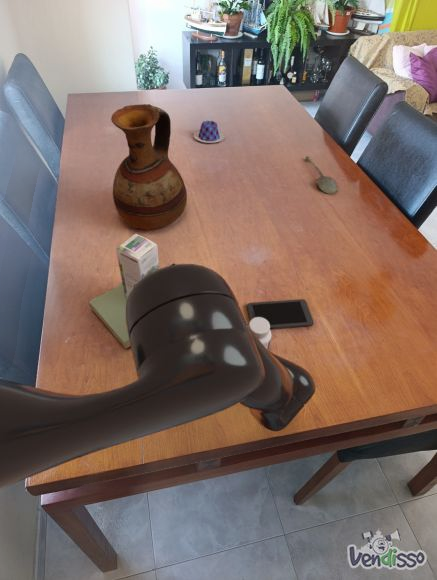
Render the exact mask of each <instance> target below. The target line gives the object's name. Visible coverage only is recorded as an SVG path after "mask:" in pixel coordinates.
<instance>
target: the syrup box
mask: <svg viewBox="0 0 437 580" xmlns="http://www.w3.org/2000/svg"><path fill="white" fill-rule="evenodd" d="M115 251H116V257H117V263H118V268H119V273H120V278H121V282H122V283H121V284H123V288H124V294H125V297H126V298H127V299H128V296H129V294H130V292H131V291H132V289H133V288H134V285H135V284H137V283H138V282H139V281H140V280H141V279H142V278H144V277H145V276H147V275H148V274H150V273H152V272H154V271H157V270H159V267H160V262H159V261H160V259H159V249H158V244H157V243H155V242H154V241H152V240H151V239H148V238H146V237H145V236H143V235H142V236H141V235H139V234H137V233H134V234H133V235H132V236H130V237H129V238H128V239H126V240H125V241H124V242H122V243H121V244H120V245H119V246H118V247H116V248H115Z"/></svg>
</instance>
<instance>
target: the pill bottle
mask: <svg viewBox="0 0 437 580" xmlns="http://www.w3.org/2000/svg"><path fill="white" fill-rule="evenodd" d="M248 327H249V328H250V329H251V331H252V332H253V333H254V335H255V336H256V337H257V338H258V339H259V341H260V342H261V343H262V344H263V345H264V347H265V348H266V349H267V350H268V351H270V350H269V349H270V345H271V342H272V331H271V329H270V324H269V322H268V321H267V320H266V319H264V318H262V317H255V318H253V319H252V320H251V321H250V320H249V323H248Z"/></svg>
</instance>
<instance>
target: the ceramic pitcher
mask: <svg viewBox="0 0 437 580" xmlns="http://www.w3.org/2000/svg"><path fill="white" fill-rule="evenodd" d="M110 120H111V122H112V124H113V125H114V126H115V127H117V128H118V129H120V131H122V132H123V133H124V135H125V139H126V142H127V147H128V155H127V156H126V157H125V158H124V159H123V160H122V161H121V163H120V164H119V166H118V167H117V170H116V172H115V175H114V178H113V183H112V198H113V199H112V200H113V203H114V206H115V209H116V211H117V213H118V215H119V216H120V218H121V219H122V220H123V221H124V222H125V223H126V224H128V225H129V226H131V227H132V228H136V229H140V230H155V229H160V228H164V227H167V226H169V225H171V224H173V223H174V222H175V221H176V220H177V219H179V218H180V217H181V216H182V214H183V213H184V211H185V209H186V207H187V202H188V192H187V189H186V185H185V182H184V179H183V177H182V175H181V173H180V171H179V170H178V168H177V167H176V166H175V164H174V163H173V162H171V160H170V158H169V150H170V149H169V148H170V142H171V134H172V128H171V127H172V126H171V125H172V123H171V117H170V115H169V113H168V112H166V111H165V110H164V109H163V108H160V107H158V106H154V105H151V103H148V104H147V103H146V104H145V103H143V104H129V105H125V106H123V107H121V108H119V109H116V110H115V112H113V113H112V115H111V118H110ZM153 129H154V139H153V143H152V131H153Z"/></svg>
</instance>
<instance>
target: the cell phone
mask: <svg viewBox="0 0 437 580" xmlns="http://www.w3.org/2000/svg"><path fill="white" fill-rule="evenodd" d="M246 310H247V313H248V318H249V322H250V321H251V320H252V319H253V318H255V317H262V318H264V319H266V320H267V321H268V322H269V324H270V330H276V329H289V328H290V329H291V328H303V327H311V326H313V325H314V319H313V316H312V313H311V310H310V307H309V305H308V303H307V301H306V300H305V299H303V298H301V299H287V300H285V299H284V300H270V301H258V302H249V303H247V305H246Z"/></svg>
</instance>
